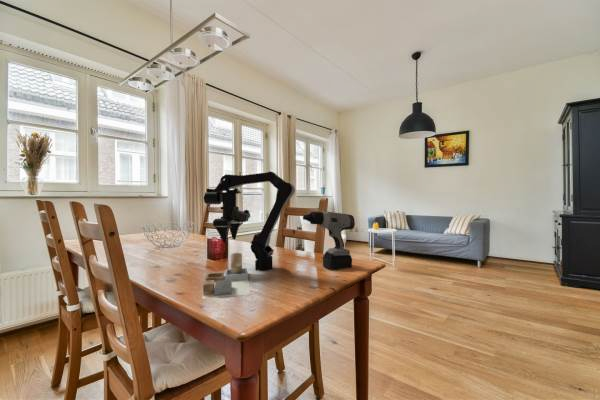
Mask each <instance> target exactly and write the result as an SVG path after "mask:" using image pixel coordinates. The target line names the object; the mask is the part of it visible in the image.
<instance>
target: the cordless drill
mask: <svg viewBox="0 0 600 400" xmlns="http://www.w3.org/2000/svg"><path fill="white" fill-rule="evenodd" d="M302 219H303V220H304V221H307V222H309V224H311V225H318V226H320V227H321V228H323V229H327V231H328V236H329V237H331V238H332V239H333V242H334V244H335V245H334V247H333V248H332V247H331V248H328V249H327V250H326V251H325V252H324V254H323V256H322V266H323V268H324V269H326V270H329V271H337V270H344V269H345V270H346V269H352V268H353V258H352V255H351V254H350V253H351V252H350V250H349V249H347V248H345V242H344V240H343V237H342V231H344V230H354V228H355V225H356V222H355V217H354V216H353V215H352V214H349V213H348V214H347V213H343V212H342V213H341V212H331V211H313V210H312V211H311V212H310V213H307V214H303V215H302Z"/></svg>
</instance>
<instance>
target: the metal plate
mask: <svg viewBox="0 0 600 400" xmlns="http://www.w3.org/2000/svg"><path fill="white" fill-rule="evenodd" d="M231 294H232V279H231V280H219V281H216V283H215V296H220V295H231Z"/></svg>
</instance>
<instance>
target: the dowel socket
mask: <svg viewBox="0 0 600 400" xmlns="http://www.w3.org/2000/svg"><path fill="white" fill-rule="evenodd" d="M224 274H225V271H223V272H209V273H207V274H206V277H205V281H208V280H214V282H216V281H219V280H224Z"/></svg>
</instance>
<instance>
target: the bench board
mask: <svg viewBox="0 0 600 400" xmlns="http://www.w3.org/2000/svg"><path fill="white" fill-rule="evenodd" d="M224 280H225V273H224ZM215 283H216V282H214V294H211V295H202V298H201V299H202V300H206V299H216V298H225V297H226V298H229V297H237V296H249V295H251V291H250V285H249V279H248V280H237V281H232V294H231V295H220V296H215Z"/></svg>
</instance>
